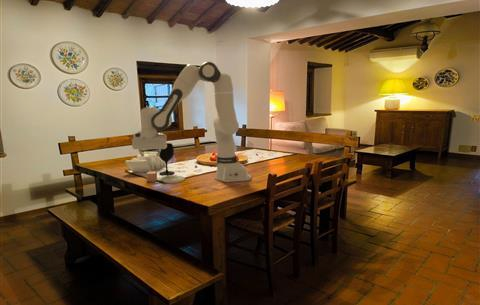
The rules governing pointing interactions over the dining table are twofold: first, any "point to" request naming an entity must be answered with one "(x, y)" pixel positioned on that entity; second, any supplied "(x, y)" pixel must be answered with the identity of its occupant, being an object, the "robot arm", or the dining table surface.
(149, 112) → the robot arm
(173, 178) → the tile
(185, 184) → the dining table surface
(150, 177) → the orange cube
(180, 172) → the dining table surface
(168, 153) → the wine glass
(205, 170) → the dining table surface
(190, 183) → the dining table surface
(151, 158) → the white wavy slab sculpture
